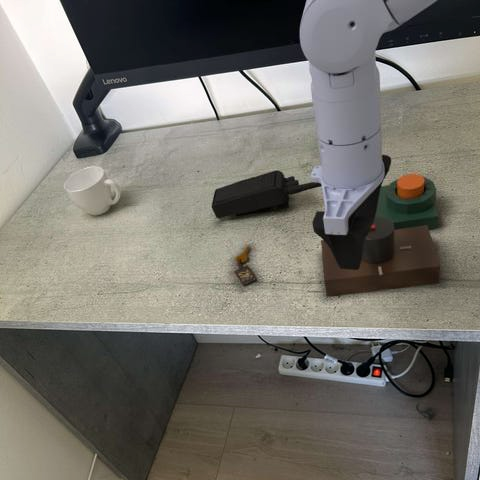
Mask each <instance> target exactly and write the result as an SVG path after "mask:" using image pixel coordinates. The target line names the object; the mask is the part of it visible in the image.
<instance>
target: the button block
mask: <svg viewBox="0 0 480 480" xmlns="http://www.w3.org/2000/svg"><path fill="white" fill-rule="evenodd" d="M422 177H423V178H424V180H425V183H424V193H423V194H422V195H421V196H419V197H416V198H410V199H407V198H401V197H400V196H398V194H397V181H398V179H399V178H397V179H394V180H393V181H391V182H390V183H389V184H386V185H381V189H380V194H379V200H378V206H377V211H376V215H375V217H384V218H387V219H389V220H391V221H392V222H393V224H394V230H397V229H404V228H411V227H418V226H424V225H427V226H428V229H429V230H436V229H438V228H439V221H440V220H439V218H440V216H439V212H438V209H437V206H436V204H435V201H436V197H437V188H436V185H435V182H434V181H432V180H431V179H429V178H428V177H426V176H422Z"/></svg>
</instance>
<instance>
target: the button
mask: <svg viewBox="0 0 480 480" xmlns="http://www.w3.org/2000/svg"><path fill="white" fill-rule="evenodd" d="M423 177H424V176H423V175H420V174H417V173H407V174H404V175H402V176H400V177H399V178H397V179H398V181H397V194H398V196H400V197H401V198H407V199H410V198H416V197H419V196H421V195H422V194H423V193H424V183H425V180H424V178H423Z"/></svg>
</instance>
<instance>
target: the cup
mask: <svg viewBox="0 0 480 480" xmlns="http://www.w3.org/2000/svg"><path fill="white" fill-rule="evenodd" d="M63 188H64V190H65V192H66V194H67V195H68V197H69V199H70V200H71V201H72V203H73V204H74V205H75V206H76V207H77V208H79V209H80V210H81V211H83V212H85V213H87V214H89V215H90V216H95V217H97V216H100V215H103V214H105V213H106V212H108V211H109V210H110V208H111V206H113V205H116V204H117V203H118V201H119V200H120V199H121V195H122V189H121V187H120V185H119V184H118V183H117V182H116V181H115V180H113V179H109V178H108V175H107V173H106V172H105V170H104V168H102V167H100V166H88V167H85V168H81V169H79V170H77V171H75V172H74V173H72V174H71V175H69V176H68V178H66V180H65V181H64V184H63ZM112 188H113V190H114V191H115V197H114V199H113V197H112Z"/></svg>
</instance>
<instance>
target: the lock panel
mask: <svg viewBox="0 0 480 480" xmlns="http://www.w3.org/2000/svg"><path fill="white" fill-rule="evenodd" d="M320 244H321V245H320V246H321V258H322V269H323V270H322V271H323V283H324V288H325V294H326V297H335V296H342V295H351V294H359V293H368V292H376V291H383V290H394V289H401V288H410V287H417V286H425V285H427V286H428V285H435V284H439V282H440V270H441V264H440V262H439V258H438V255H437V251H436V248H435V246H434V242H433V238H432V235H431V232H430V229H428V226H427V225H424V226H418V227H411V228H404V229H397V230H394V254H393V256H392V257H391V258H390V259H389V260H387V261H385V262H382V263H369V262H366V261H364V260H363V259H362V260H361V264H360V267H359V269H358V270H351V269H341V268H340V267H339V265H338V264H337V262H336V259H335V257H334V255H333V253H332V251H331V250H330V248H329V246H328V245H327V243H326V242H325V241H324V240H323V239H321V240H320Z"/></svg>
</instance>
